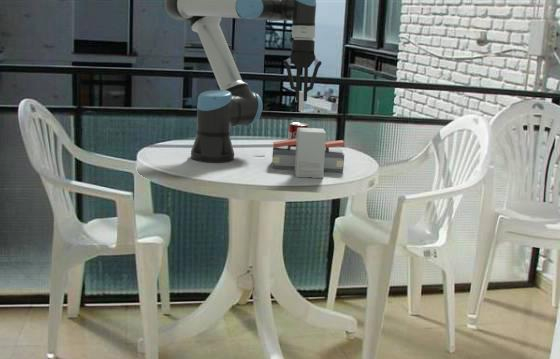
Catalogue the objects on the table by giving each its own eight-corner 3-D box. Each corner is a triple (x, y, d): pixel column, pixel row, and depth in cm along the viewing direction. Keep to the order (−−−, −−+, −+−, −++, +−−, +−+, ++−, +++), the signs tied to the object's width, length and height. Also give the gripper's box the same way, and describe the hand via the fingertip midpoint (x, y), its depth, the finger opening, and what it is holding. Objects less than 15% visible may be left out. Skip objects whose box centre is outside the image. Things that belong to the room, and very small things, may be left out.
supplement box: (321, 172, 229) (324, 128, 226) (323, 178, 221) (327, 132, 217) (293, 171, 229) (296, 126, 226) (295, 177, 220) (298, 131, 217)
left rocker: (273, 147, 232) (273, 144, 232) (273, 145, 236) (273, 142, 236) (305, 142, 232) (305, 139, 231) (305, 140, 236) (304, 137, 236)
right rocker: (311, 149, 232) (311, 145, 232) (311, 147, 236) (311, 143, 236) (344, 145, 232) (344, 142, 232) (343, 143, 236) (342, 140, 236)
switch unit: (271, 168, 231) (273, 147, 229) (272, 162, 241) (273, 141, 239) (343, 172, 231) (344, 151, 229) (340, 166, 241) (342, 145, 239)
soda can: (304, 158, 250) (307, 126, 247) (285, 156, 252) (287, 124, 249) (308, 155, 257) (310, 123, 254) (289, 153, 258) (291, 121, 256)
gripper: (283, 38, 222) (281, 111, 227) (323, 39, 222) (320, 112, 226) (283, 38, 229) (282, 109, 234) (322, 39, 229) (320, 110, 234)
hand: (301, 110), depth 230 cm, fingers closed
